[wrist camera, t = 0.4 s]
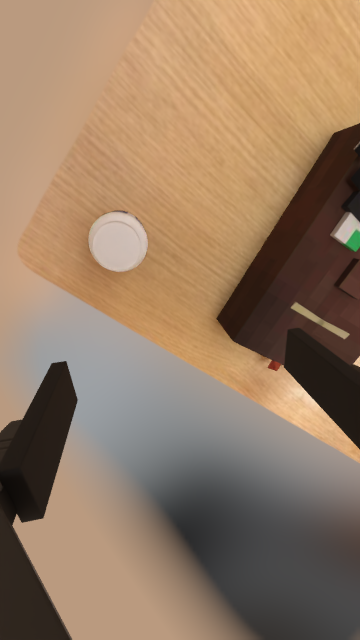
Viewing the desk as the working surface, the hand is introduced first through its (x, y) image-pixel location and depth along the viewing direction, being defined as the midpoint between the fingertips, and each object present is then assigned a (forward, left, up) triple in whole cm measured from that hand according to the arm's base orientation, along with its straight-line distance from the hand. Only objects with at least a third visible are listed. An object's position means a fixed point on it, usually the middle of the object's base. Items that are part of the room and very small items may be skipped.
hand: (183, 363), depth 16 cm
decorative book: (0, +21, -20) cm, 29 cm away
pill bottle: (-6, -4, -20) cm, 21 cm away
